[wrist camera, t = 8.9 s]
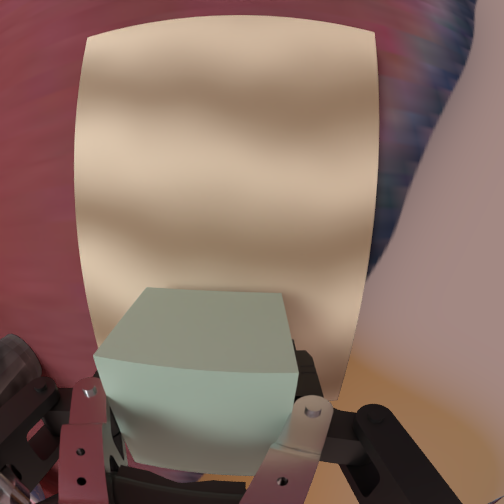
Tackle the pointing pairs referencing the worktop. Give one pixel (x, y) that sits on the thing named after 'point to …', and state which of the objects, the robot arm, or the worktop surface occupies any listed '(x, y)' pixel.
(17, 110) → the worktop surface
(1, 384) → the beverage cup
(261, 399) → the grey-green block
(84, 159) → the post board
